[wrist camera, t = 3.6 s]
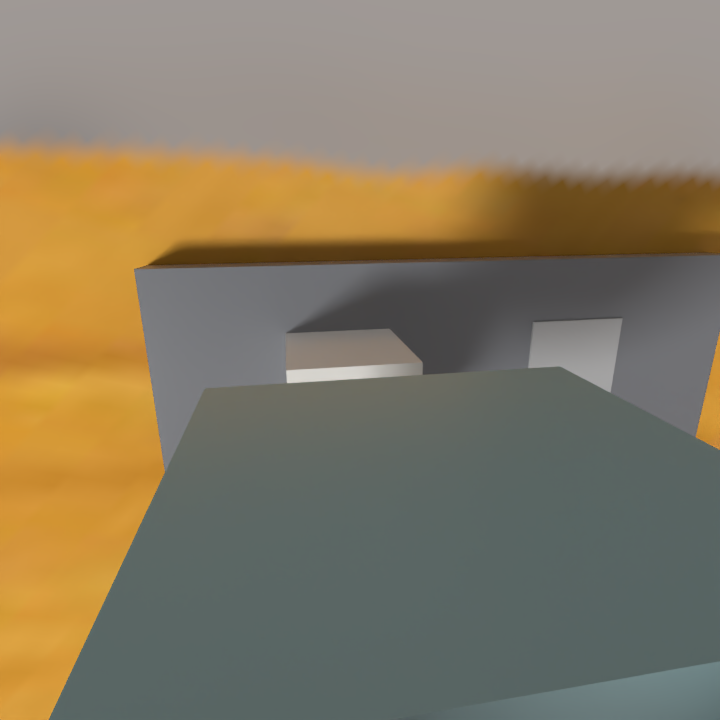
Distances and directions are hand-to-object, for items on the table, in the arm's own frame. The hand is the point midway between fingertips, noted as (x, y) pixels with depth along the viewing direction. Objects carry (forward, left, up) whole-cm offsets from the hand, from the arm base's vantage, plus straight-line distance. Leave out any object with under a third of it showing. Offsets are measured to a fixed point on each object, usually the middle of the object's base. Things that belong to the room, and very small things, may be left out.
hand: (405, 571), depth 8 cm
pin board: (-5, +4, -12) cm, 13 cm away
